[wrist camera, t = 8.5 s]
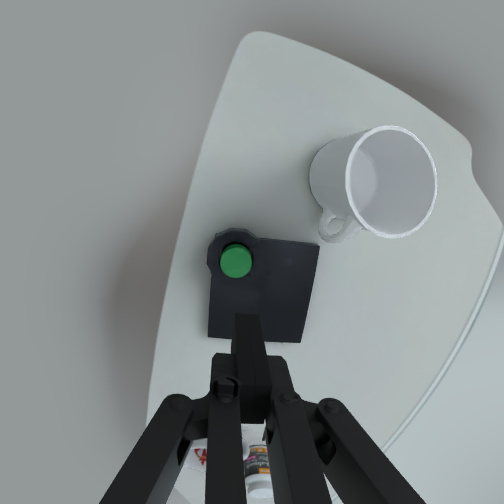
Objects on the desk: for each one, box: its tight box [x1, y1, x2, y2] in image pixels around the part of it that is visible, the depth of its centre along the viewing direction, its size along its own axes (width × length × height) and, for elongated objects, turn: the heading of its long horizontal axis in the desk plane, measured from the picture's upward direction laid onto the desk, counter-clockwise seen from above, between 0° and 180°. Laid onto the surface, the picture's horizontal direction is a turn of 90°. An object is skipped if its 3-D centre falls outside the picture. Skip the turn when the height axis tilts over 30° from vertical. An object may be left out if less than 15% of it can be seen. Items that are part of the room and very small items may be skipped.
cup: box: [184, 438, 250, 472], centre depth 37 cm, size 11×8×8 cm
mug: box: [309, 125, 437, 243], centre depth 26 cm, size 10×12×12 cm
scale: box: [207, 228, 320, 343], centre depth 33 cm, size 12×14×3 cm
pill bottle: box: [243, 446, 273, 499], centre depth 39 cm, size 6×6×10 cm
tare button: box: [220, 244, 252, 278], centre depth 30 cm, size 3×3×2 cm
